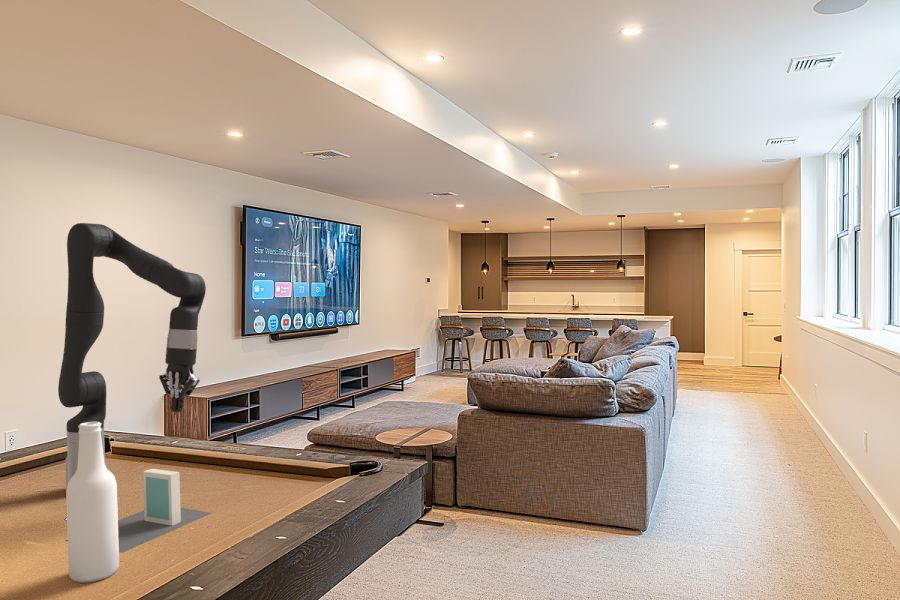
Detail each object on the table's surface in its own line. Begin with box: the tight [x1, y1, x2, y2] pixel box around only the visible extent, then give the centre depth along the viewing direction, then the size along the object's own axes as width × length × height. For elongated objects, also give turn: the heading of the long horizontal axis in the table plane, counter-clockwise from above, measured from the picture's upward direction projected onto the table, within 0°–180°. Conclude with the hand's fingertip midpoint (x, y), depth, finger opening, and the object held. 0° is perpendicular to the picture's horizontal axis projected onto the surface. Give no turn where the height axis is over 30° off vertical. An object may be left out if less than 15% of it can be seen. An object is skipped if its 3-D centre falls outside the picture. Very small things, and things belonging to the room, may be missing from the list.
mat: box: [65, 507, 212, 553], centre depth 155 cm, size 18×26×1 cm
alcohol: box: [65, 422, 120, 584], centre depth 129 cm, size 9×9×30 cm
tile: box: [142, 468, 181, 526], centre depth 157 cm, size 9×3×12 cm, turn 66°
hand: (176, 411), depth 174 cm, fingers closed
